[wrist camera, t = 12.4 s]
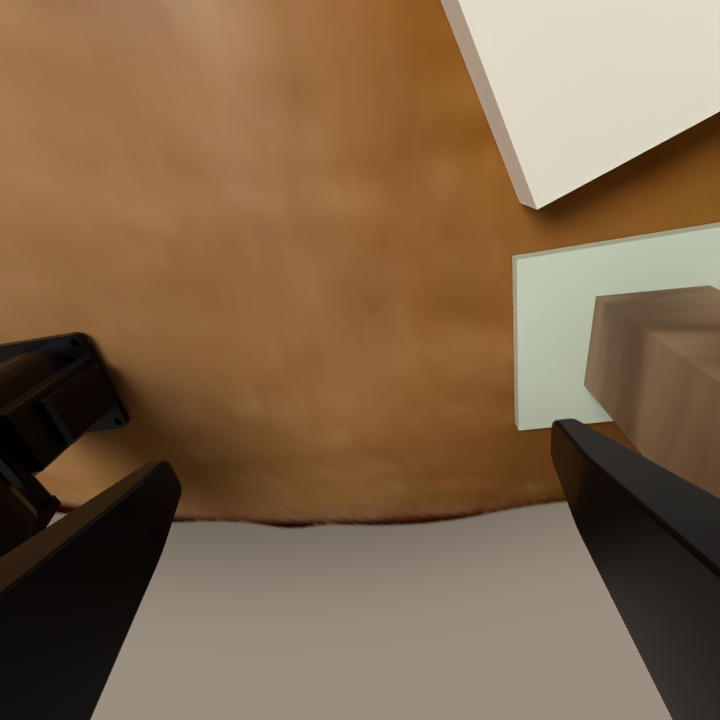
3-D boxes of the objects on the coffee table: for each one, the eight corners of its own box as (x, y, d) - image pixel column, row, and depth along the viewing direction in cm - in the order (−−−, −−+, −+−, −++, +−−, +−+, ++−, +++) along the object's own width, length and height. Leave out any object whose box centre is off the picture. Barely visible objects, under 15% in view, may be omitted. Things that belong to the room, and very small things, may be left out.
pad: (514, 422, 24) (518, 430, 23) (512, 255, 20) (516, 259, 19) (739, 398, 22) (750, 406, 22) (791, 210, 18) (808, 212, 17)
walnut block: (583, 385, 22) (717, 546, 13) (596, 296, 19) (768, 416, 11) (684, 377, 21) (898, 541, 12) (709, 285, 19) (992, 402, 10)
